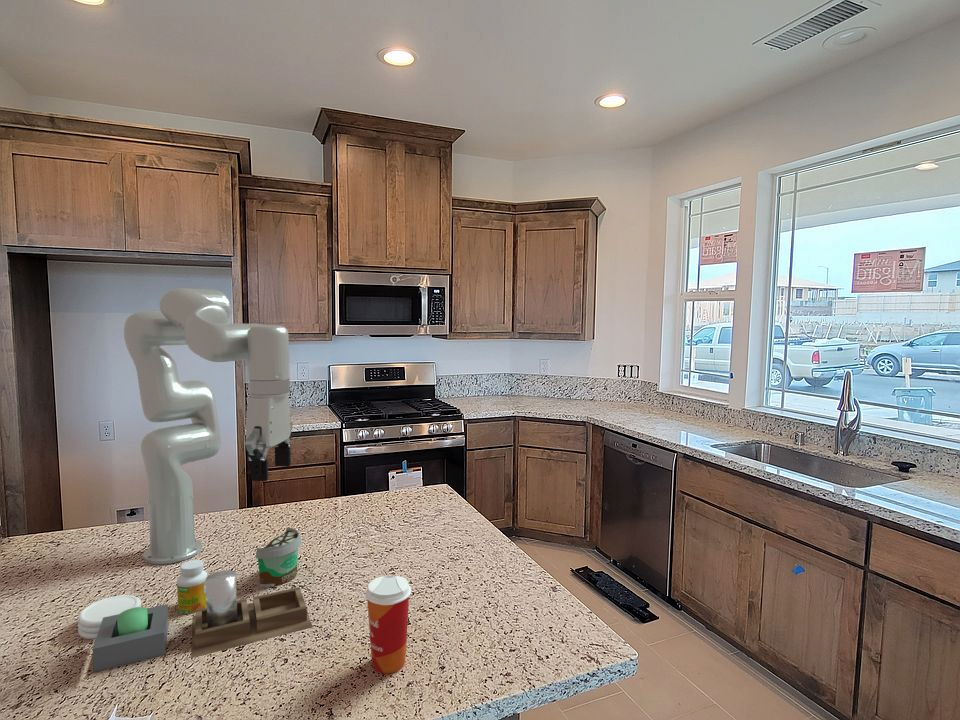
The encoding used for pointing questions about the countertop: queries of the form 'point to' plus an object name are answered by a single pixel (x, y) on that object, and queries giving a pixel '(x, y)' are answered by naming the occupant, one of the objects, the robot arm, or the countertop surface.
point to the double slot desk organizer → (252, 622)
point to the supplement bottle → (191, 587)
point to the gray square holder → (130, 641)
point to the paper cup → (388, 622)
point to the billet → (221, 598)
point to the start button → (132, 621)
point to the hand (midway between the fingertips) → (271, 472)
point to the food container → (279, 559)
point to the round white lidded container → (103, 613)
